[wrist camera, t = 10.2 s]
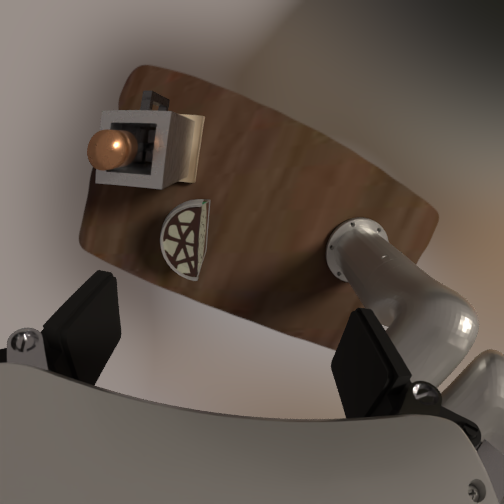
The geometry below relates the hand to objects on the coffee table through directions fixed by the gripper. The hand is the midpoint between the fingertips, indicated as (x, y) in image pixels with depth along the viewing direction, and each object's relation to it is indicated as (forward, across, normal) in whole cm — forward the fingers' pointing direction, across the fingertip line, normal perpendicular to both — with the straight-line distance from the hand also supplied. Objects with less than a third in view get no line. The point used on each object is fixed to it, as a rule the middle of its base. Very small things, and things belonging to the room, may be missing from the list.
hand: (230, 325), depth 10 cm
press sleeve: (+36, +14, -6) cm, 39 cm away
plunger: (+36, +14, -5) cm, 39 cm away
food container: (+38, +8, +8) cm, 40 cm away
